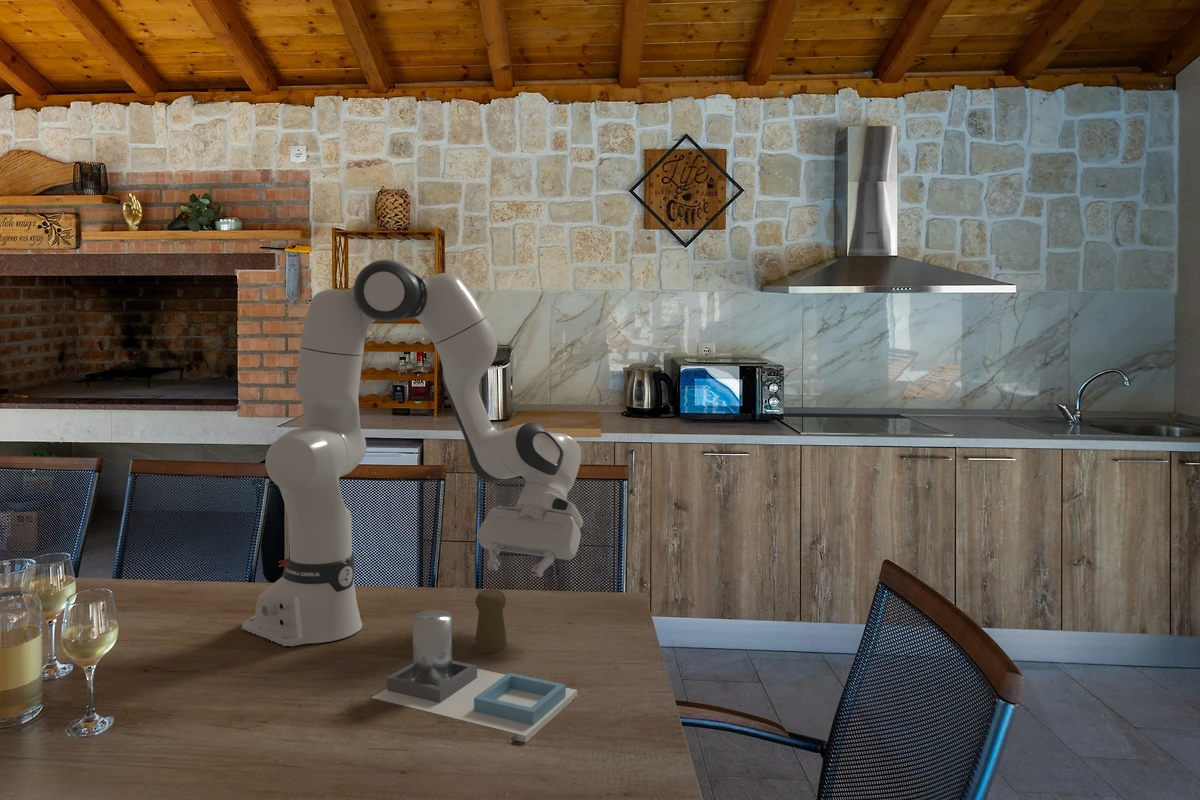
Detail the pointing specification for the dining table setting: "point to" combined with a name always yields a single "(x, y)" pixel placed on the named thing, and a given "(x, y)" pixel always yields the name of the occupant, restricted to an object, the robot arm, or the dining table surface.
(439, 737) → the dining table surface
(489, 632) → the cork
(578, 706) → the dining table surface
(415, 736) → the dining table surface
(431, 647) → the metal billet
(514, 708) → the pallet board
